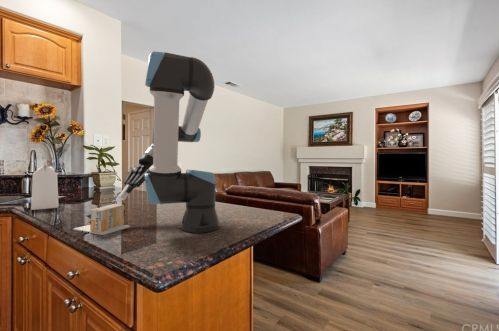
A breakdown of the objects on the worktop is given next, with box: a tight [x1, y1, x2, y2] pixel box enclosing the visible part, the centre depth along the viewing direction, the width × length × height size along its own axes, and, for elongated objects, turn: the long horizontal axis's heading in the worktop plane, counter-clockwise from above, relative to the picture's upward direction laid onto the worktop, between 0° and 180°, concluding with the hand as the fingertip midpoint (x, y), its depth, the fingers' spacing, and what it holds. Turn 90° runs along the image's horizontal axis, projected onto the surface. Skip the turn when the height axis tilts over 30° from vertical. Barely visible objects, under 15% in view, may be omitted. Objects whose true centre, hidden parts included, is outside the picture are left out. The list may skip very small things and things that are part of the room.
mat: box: [72, 224, 131, 236], centre depth 98 cm, size 16×12×1 cm
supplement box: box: [89, 203, 125, 232], centre depth 98 cm, size 8×5×13 cm
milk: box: [30, 159, 59, 211], centre depth 140 cm, size 12×12×26 cm
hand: (121, 198), depth 106 cm, fingers closed
